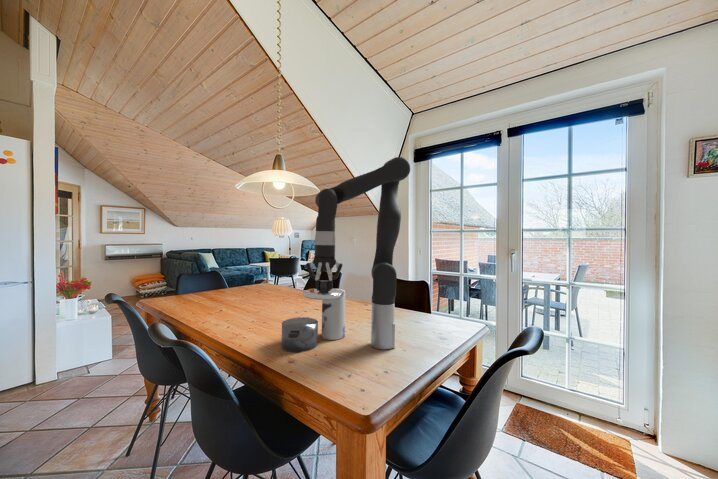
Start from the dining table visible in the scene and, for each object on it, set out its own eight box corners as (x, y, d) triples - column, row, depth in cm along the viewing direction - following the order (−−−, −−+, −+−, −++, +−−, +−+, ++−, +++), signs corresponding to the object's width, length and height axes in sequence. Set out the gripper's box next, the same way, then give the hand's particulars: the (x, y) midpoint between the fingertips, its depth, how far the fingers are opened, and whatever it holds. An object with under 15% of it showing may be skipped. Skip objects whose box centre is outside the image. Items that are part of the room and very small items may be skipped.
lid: (344, 291, 111) (345, 278, 110) (343, 300, 96) (344, 284, 96) (306, 291, 110) (307, 277, 110) (299, 299, 95) (300, 284, 95)
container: (316, 336, 121) (317, 290, 121) (334, 330, 129) (334, 287, 129) (332, 342, 115) (332, 293, 114) (349, 336, 122) (350, 290, 122)
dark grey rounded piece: (289, 335, 122) (290, 314, 122) (321, 336, 121) (321, 315, 121) (273, 355, 101) (273, 330, 101) (311, 356, 100) (312, 331, 100)
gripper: (344, 244, 106) (343, 289, 106) (308, 243, 107) (306, 288, 107) (343, 244, 99) (342, 293, 99) (303, 243, 99) (302, 291, 99)
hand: (323, 290), depth 103 cm, fingers closed on lid, 3 cm apart
